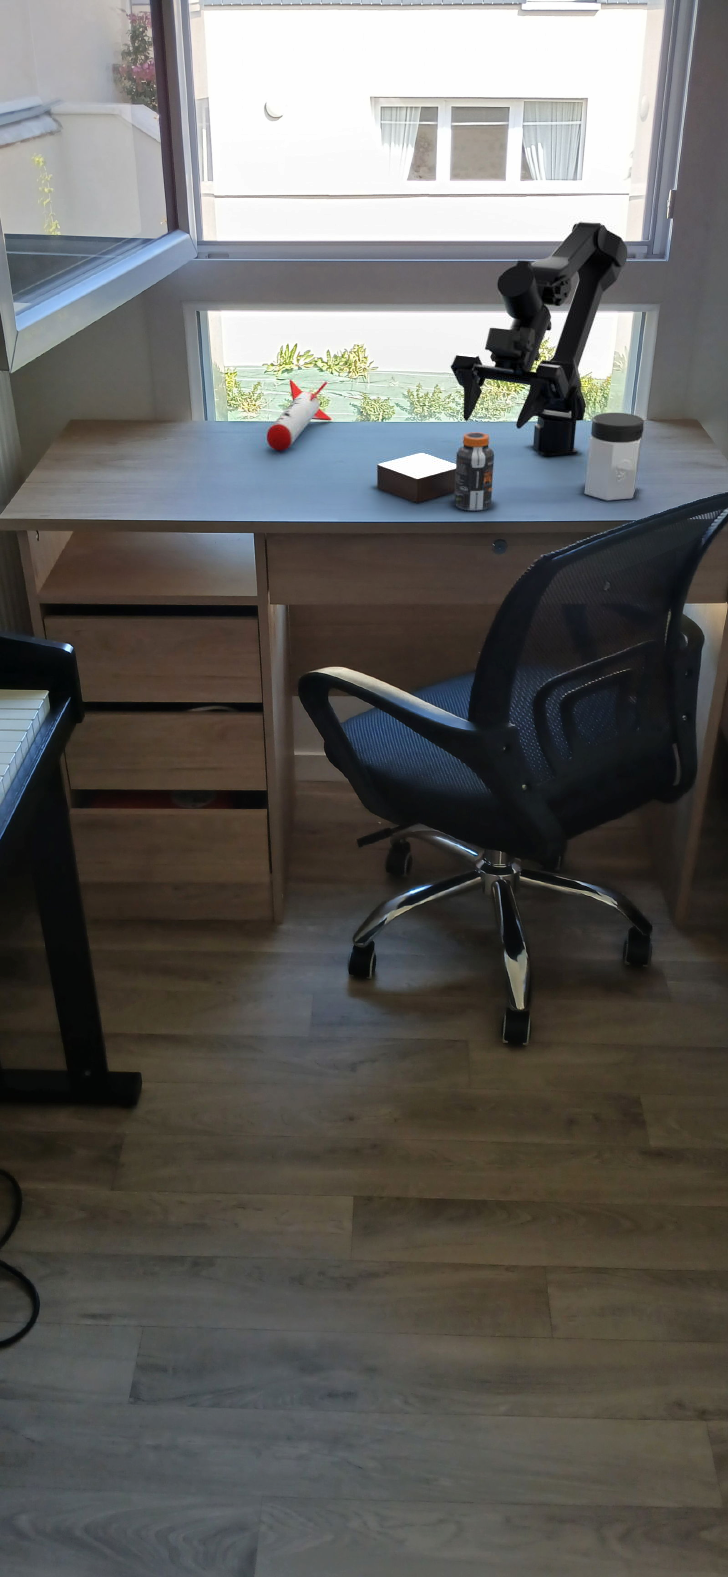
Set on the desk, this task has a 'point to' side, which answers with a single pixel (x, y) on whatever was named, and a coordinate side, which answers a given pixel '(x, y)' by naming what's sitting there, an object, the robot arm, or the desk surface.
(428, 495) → the block
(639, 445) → the jar
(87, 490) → the desk surface
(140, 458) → the desk surface
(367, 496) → the desk surface
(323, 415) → the model rocket
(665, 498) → the desk surface
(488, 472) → the pill bottle
